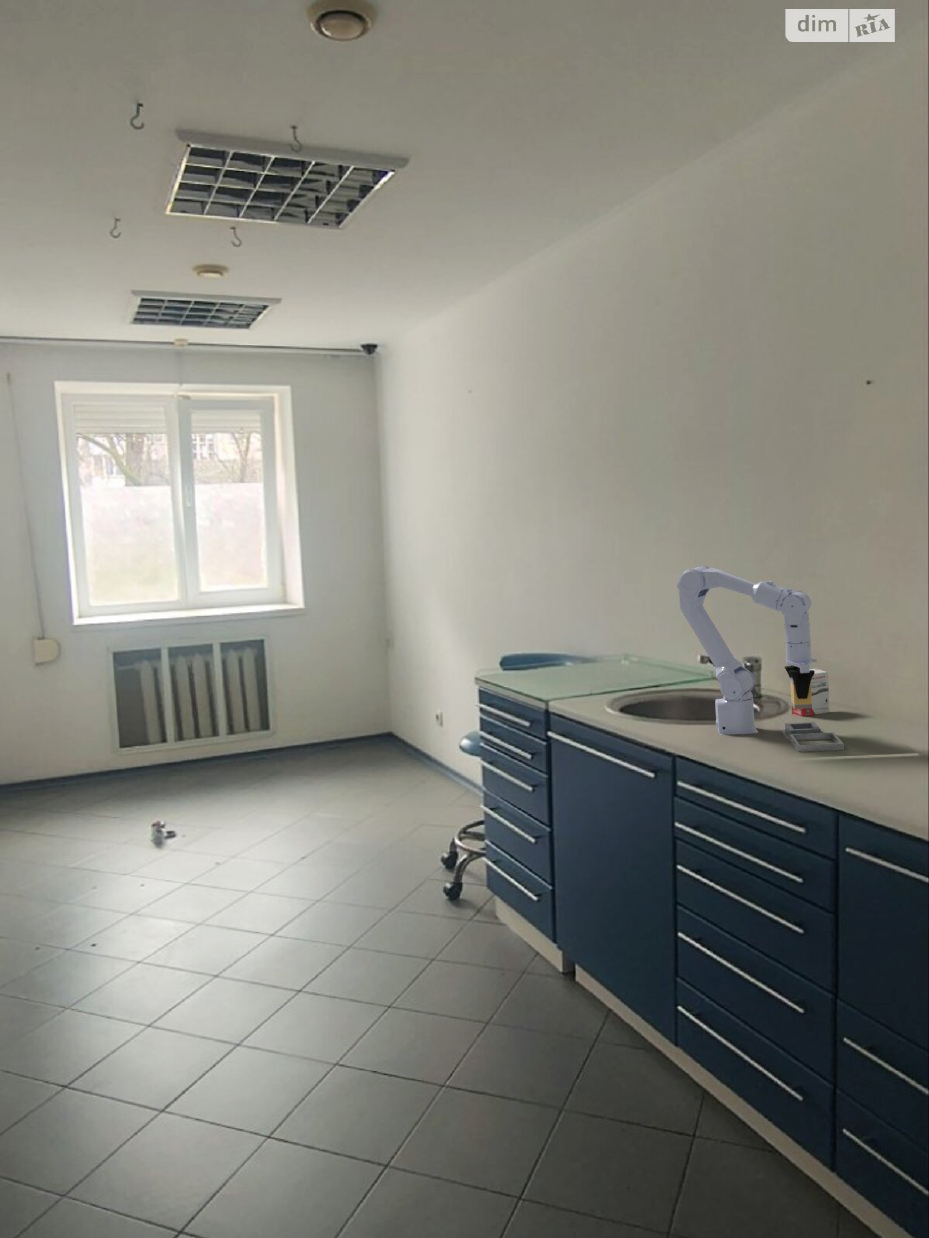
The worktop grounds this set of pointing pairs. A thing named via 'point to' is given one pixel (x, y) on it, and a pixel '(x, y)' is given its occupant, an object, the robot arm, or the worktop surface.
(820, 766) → the worktop surface
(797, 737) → the parts tray
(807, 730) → the socket block
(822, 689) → the ink box
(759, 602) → the robot arm
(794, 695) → the block
